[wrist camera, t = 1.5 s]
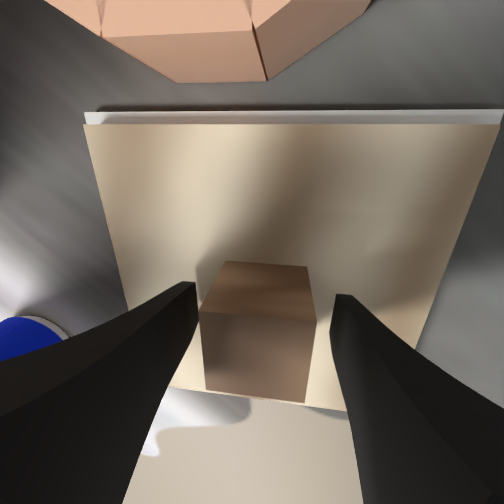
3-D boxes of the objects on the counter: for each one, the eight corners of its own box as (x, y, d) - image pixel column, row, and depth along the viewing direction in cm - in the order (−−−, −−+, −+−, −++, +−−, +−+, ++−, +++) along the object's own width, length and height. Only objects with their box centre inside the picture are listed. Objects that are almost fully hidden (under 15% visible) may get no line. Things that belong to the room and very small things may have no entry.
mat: (492, 111, 8) (504, 109, 8) (386, 401, 14) (390, 409, 14) (93, 113, 10) (83, 112, 9) (151, 370, 16) (147, 376, 15)
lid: (481, 126, 8) (677, 103, 4) (383, 402, 13) (422, 505, 10) (98, 126, 9) (-34, 109, 6) (153, 372, 15) (106, 450, 11)
